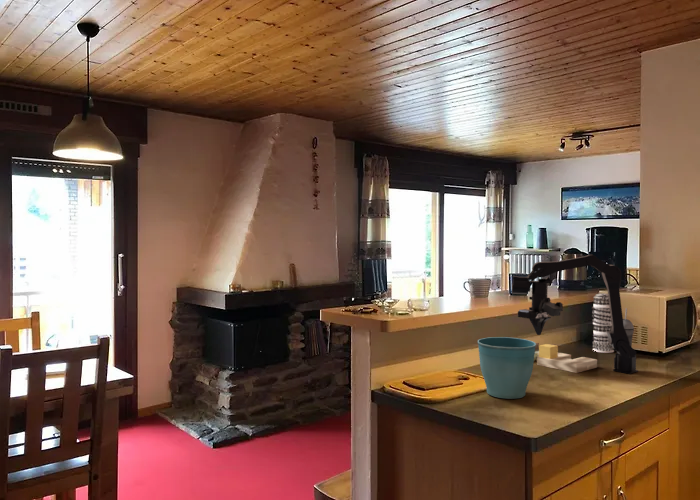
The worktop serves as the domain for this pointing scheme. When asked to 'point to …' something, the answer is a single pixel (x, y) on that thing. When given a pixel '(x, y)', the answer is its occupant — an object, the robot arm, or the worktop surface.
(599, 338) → the decorative candle
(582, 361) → the board
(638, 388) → the worktop surface
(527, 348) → the flower pot
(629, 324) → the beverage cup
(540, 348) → the ochre block
